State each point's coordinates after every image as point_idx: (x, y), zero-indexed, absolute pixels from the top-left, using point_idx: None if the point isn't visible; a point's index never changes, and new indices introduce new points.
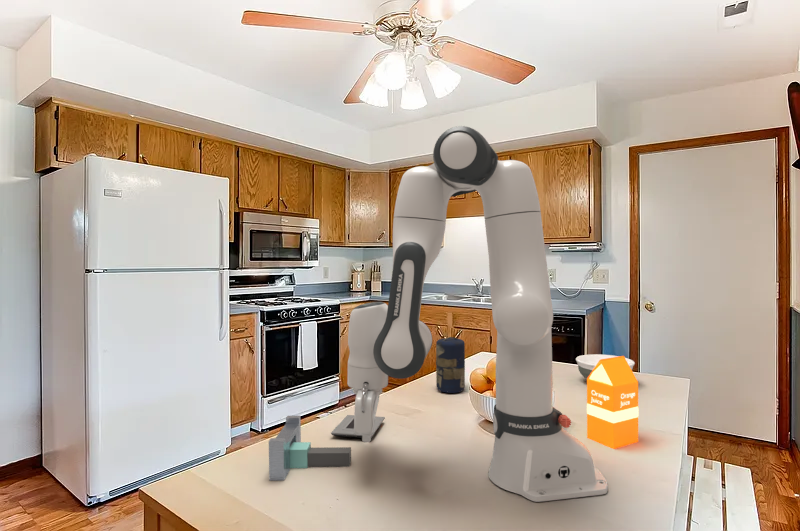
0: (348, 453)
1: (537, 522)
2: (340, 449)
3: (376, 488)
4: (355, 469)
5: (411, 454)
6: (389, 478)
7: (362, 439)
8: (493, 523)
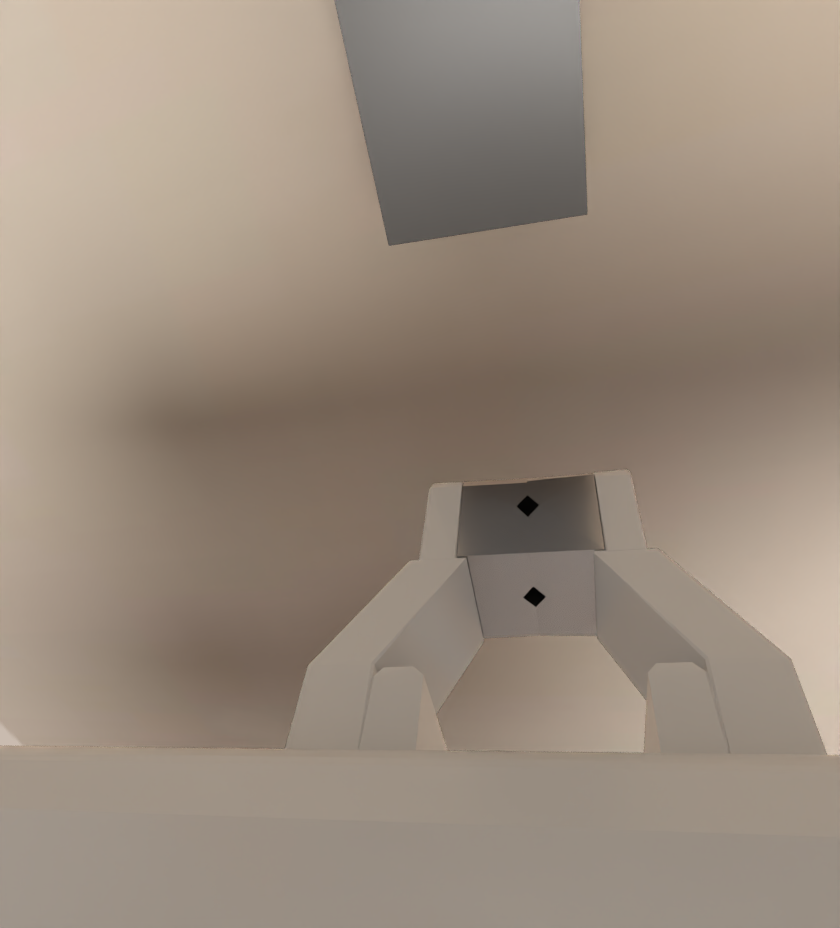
0: (386, 232)
1: None
2: (491, 60)
3: (128, 485)
4: (364, 271)
5: None
6: (290, 537)
7: (430, 497)
8: None
